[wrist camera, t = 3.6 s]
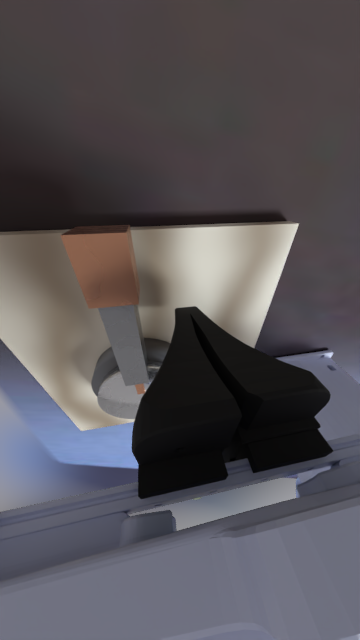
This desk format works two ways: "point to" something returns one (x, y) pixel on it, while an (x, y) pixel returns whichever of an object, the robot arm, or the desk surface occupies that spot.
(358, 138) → the desk surface
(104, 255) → the frying pan
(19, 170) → the desk surface
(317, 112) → the desk surface
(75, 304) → the board
